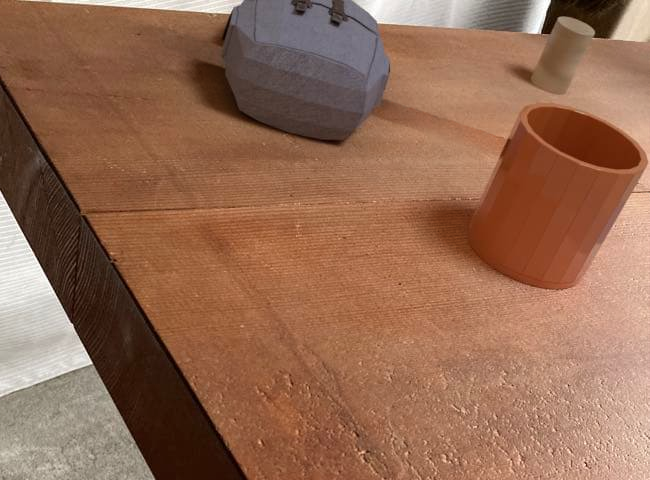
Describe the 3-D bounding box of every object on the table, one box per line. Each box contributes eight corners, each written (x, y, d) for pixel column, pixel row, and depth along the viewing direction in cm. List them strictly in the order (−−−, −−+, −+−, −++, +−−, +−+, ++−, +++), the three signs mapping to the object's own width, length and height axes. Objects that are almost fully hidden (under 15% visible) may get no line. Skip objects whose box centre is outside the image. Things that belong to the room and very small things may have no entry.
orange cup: (578, 239, 85) (639, 129, 77) (588, 303, 78) (656, 188, 70) (466, 204, 84) (518, 89, 77) (466, 265, 77) (522, 145, 70)
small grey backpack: (371, 160, 85) (374, 69, 99) (405, 64, 79) (403, -18, 93) (202, 112, 84) (228, 26, 97) (224, 9, 78) (249, -66, 91)
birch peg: (556, 101, 105) (593, 24, 100) (558, 116, 103) (596, 38, 97) (521, 90, 105) (556, 12, 99) (523, 105, 102) (558, 26, 97)
